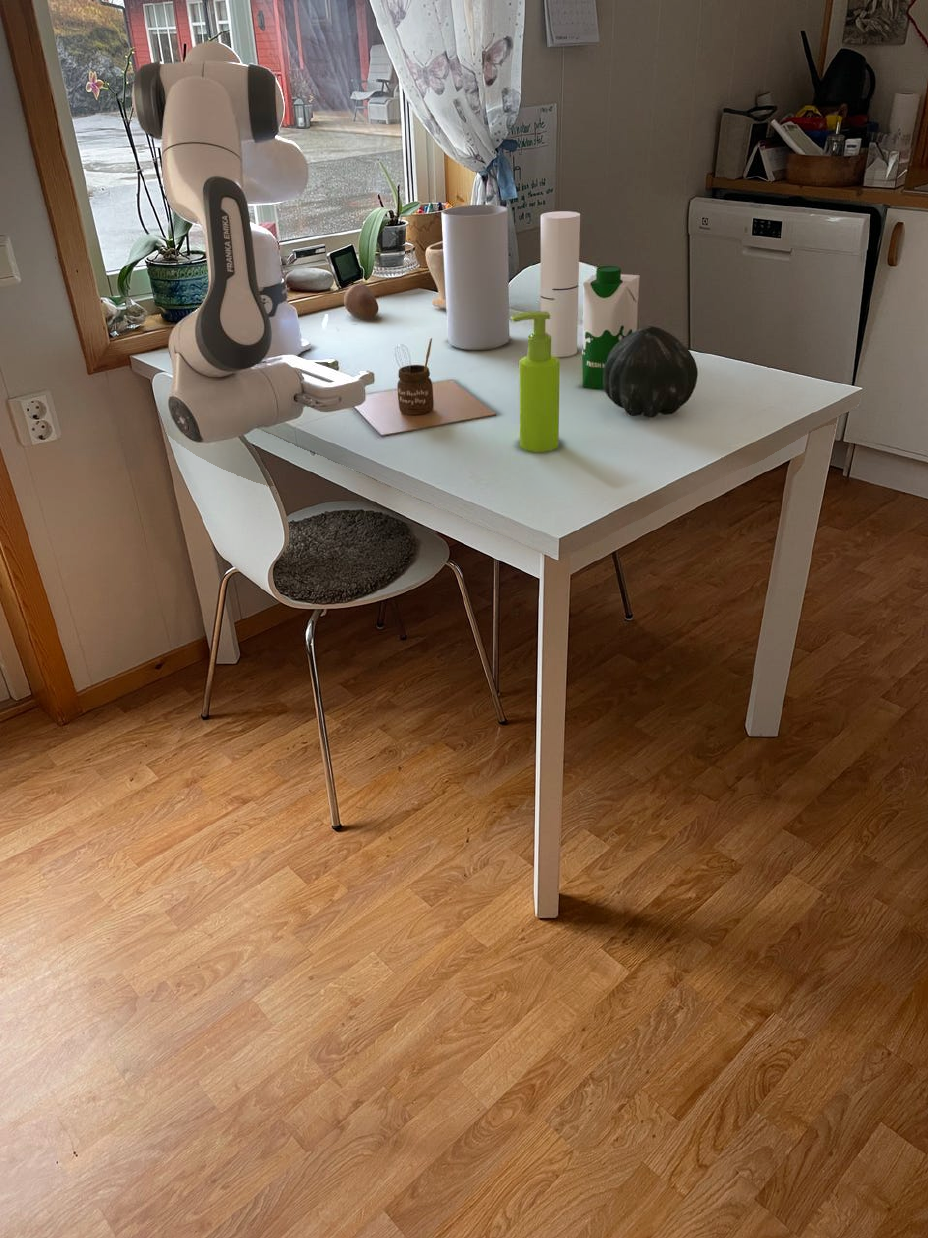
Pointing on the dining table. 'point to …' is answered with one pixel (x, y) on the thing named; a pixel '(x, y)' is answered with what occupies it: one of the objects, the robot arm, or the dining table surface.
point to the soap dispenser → (538, 388)
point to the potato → (360, 301)
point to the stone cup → (437, 271)
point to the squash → (650, 373)
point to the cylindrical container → (560, 279)
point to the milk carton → (606, 318)
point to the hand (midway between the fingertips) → (353, 370)
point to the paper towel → (447, 409)
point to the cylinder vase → (476, 275)
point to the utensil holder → (415, 387)
